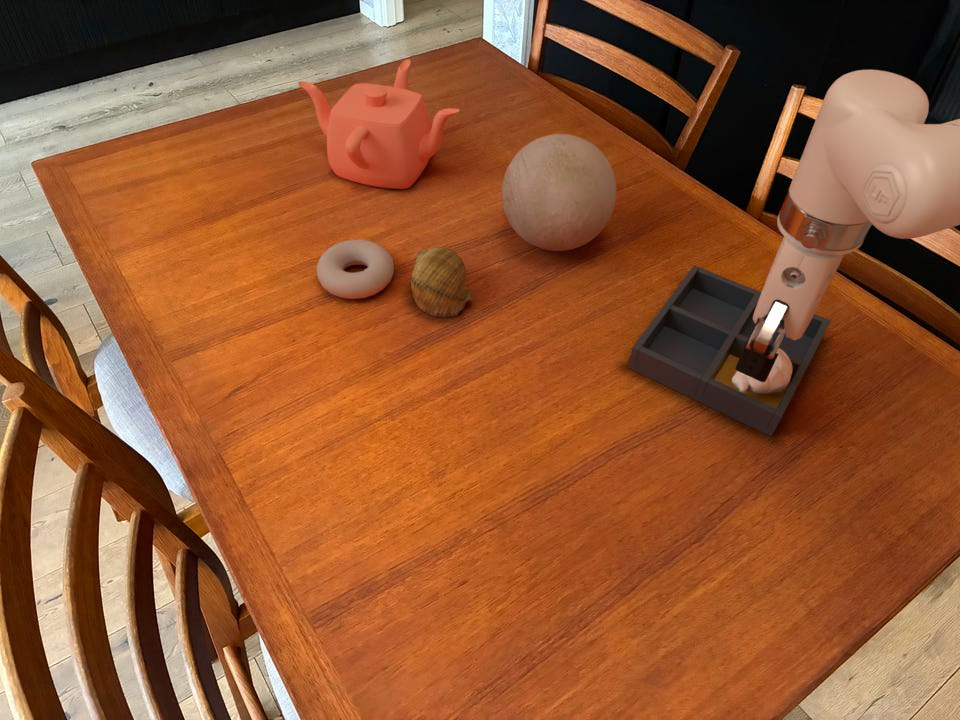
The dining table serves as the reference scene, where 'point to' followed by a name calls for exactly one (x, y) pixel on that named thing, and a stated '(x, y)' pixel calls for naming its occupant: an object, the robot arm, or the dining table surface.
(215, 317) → the dining table surface
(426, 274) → the seashell
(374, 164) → the pot
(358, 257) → the donut
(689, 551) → the dining table surface
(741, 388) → the garlic bulb
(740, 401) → the grid
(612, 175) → the decorative sphere
